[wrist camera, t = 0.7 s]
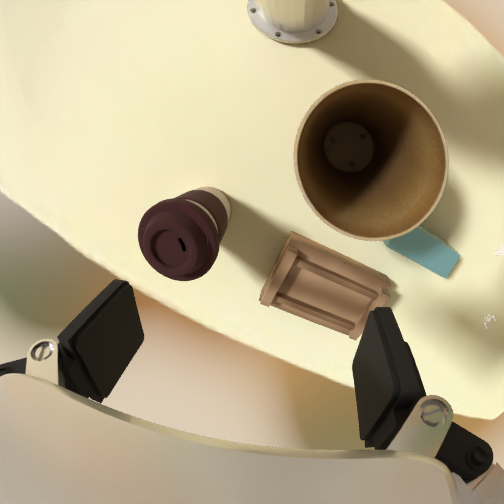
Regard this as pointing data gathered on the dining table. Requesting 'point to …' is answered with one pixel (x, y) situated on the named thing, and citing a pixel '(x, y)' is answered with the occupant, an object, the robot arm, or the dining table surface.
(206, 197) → the coffee cup
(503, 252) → the paper
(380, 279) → the display cradle
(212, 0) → the dining table surface
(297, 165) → the plant pot
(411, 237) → the teal block
